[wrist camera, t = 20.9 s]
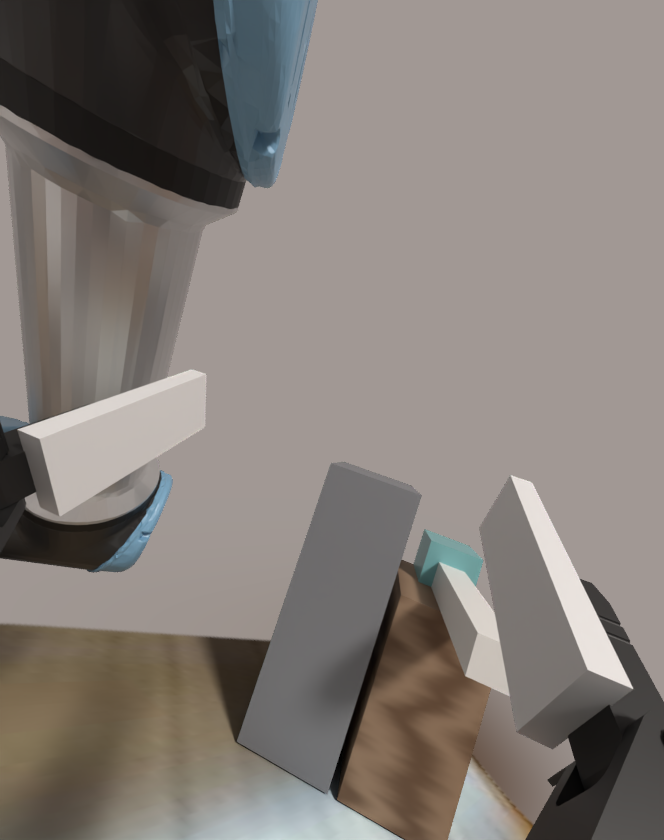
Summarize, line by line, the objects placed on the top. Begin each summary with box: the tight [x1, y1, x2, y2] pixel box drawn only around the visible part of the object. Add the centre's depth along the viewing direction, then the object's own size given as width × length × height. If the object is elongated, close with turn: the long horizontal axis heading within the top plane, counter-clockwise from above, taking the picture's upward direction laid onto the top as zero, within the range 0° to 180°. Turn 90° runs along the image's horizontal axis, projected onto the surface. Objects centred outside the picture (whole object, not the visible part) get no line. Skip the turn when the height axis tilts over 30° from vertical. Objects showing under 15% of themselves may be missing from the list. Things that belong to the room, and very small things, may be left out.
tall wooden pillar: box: [337, 560, 491, 840], centre depth 35 cm, size 10×12×20 cm
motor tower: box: [237, 462, 421, 794], centre depth 38 cm, size 10×12×30 cm
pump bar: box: [414, 529, 510, 696], centre depth 31 cm, size 6×21×5 cm, turn 170°
